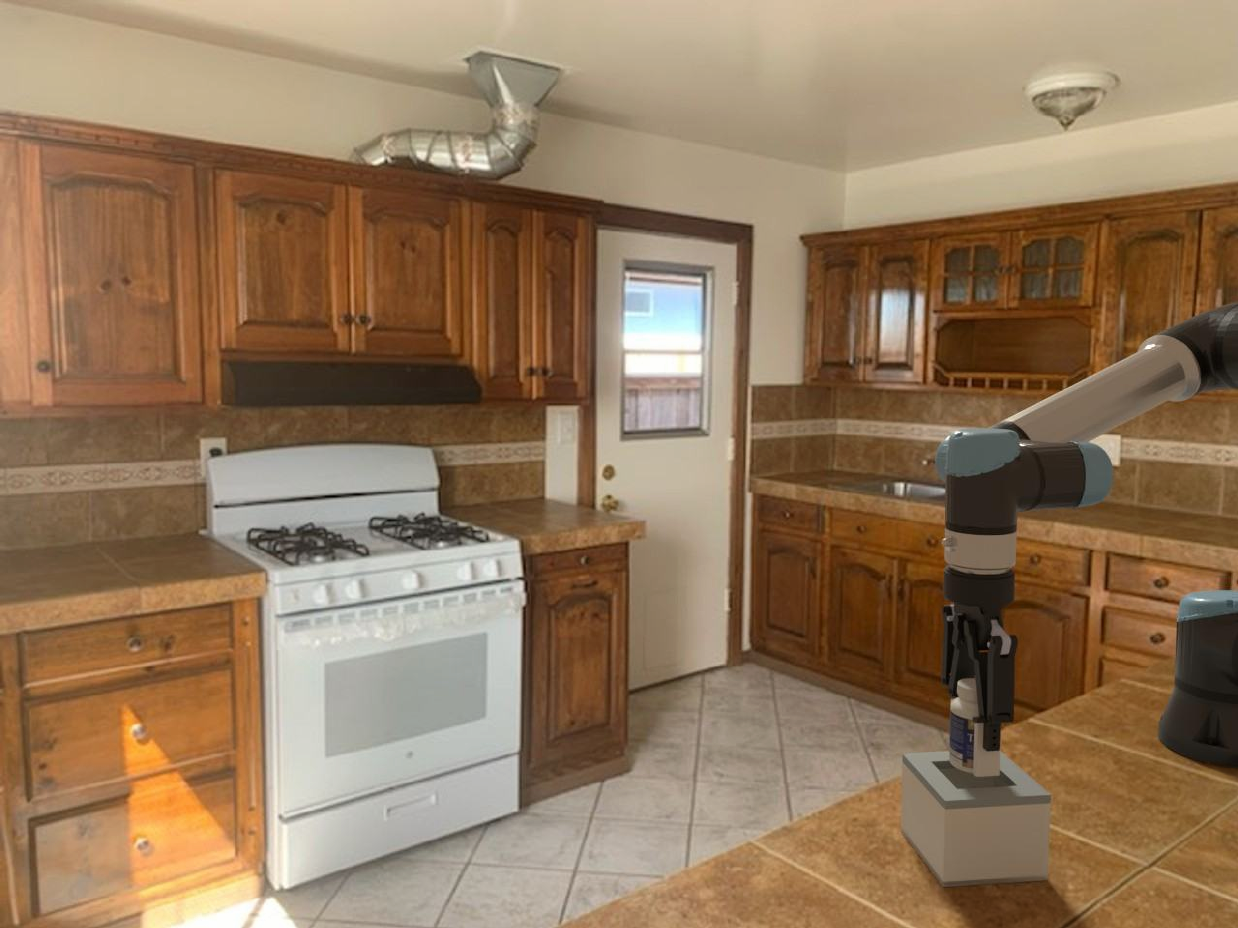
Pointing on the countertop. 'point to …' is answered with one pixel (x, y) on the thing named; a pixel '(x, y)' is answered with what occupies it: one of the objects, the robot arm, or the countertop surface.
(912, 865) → the countertop surface
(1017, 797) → the drop box
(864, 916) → the countertop surface
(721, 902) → the countertop surface
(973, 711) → the pill bottle
